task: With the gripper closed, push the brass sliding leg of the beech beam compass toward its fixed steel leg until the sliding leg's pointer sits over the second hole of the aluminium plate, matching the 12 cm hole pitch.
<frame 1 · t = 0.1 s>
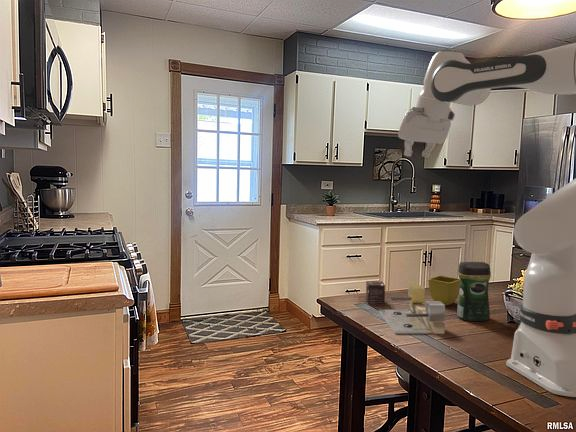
hand: (416, 156, 128), 52 cm above the table, tool tilted 20°, fingers open, 8 cm apart
beam: (425, 320, 138), on the table
hole plate: (402, 322, 136), on the table
coffee jar: (472, 318, 141), on the table
box: (375, 303, 158), on the table
flower pot: (443, 303, 158), on the table
sliding leg: (407, 294, 148), point 6 cm above the table, slide at 0.0 cm
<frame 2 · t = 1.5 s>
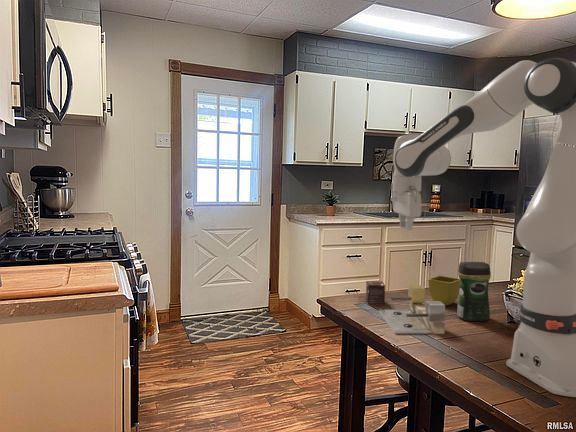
hand: (405, 228, 140), 29 cm above the table, tool pointing down, fingers open, 5 cm apart
nothing on the table moved.
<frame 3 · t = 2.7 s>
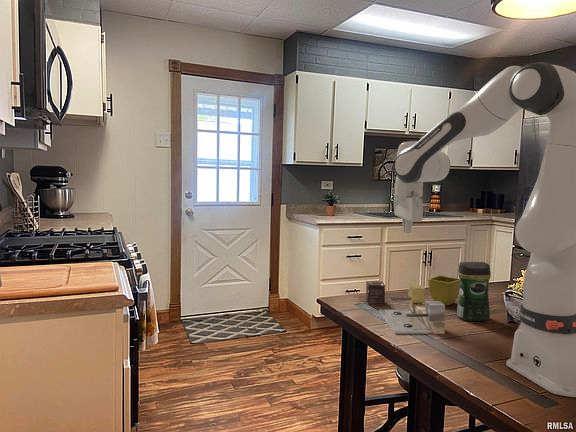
hand: (406, 232, 144), 27 cm above the table, tool pointing down, fingers closed
nothing on the table moved.
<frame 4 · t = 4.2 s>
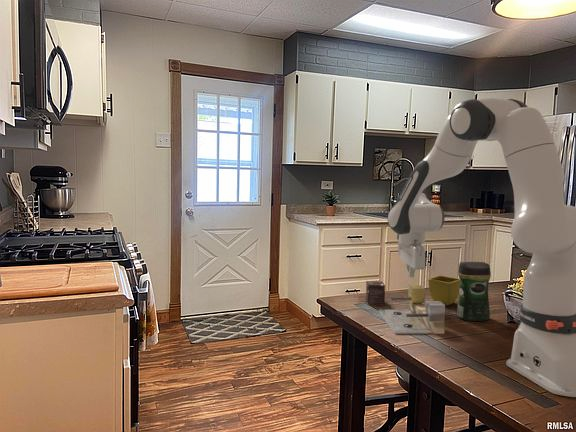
hand: (410, 276, 154), 11 cm above the table, tool pointing down, fingers closed
nothing on the table moved.
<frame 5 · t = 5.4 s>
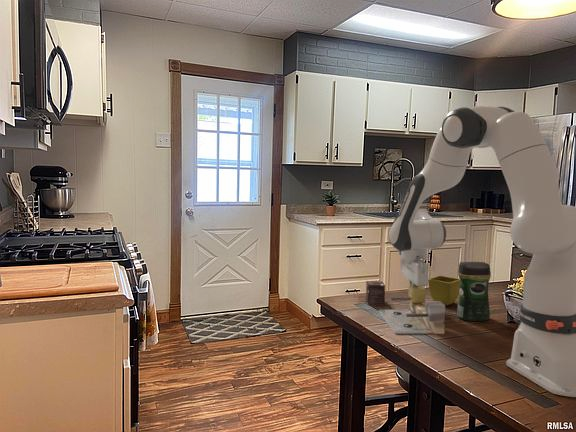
hand: (413, 292, 152), 5 cm above the table, tool pointing down, fingers closed
sliding leg: (407, 294, 148), point 6 cm above the table, slide at 0.2 cm, touching gripper
everything else where it was.
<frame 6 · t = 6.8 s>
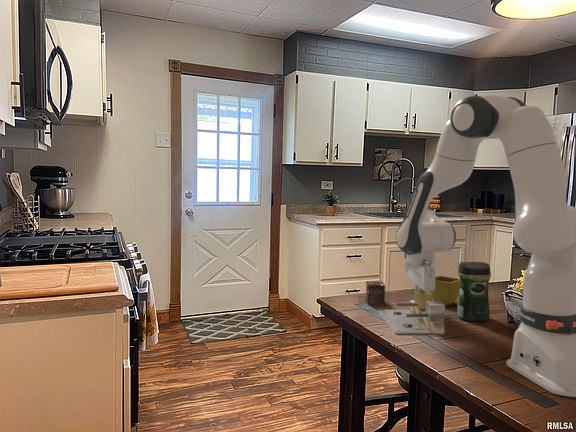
hand: (419, 297, 145), 5 cm above the table, tool pointing down, fingers closed
sliding leg: (413, 299, 141), point 6 cm above the table, slide at 7.0 cm, touching gripper
everything else where it was.
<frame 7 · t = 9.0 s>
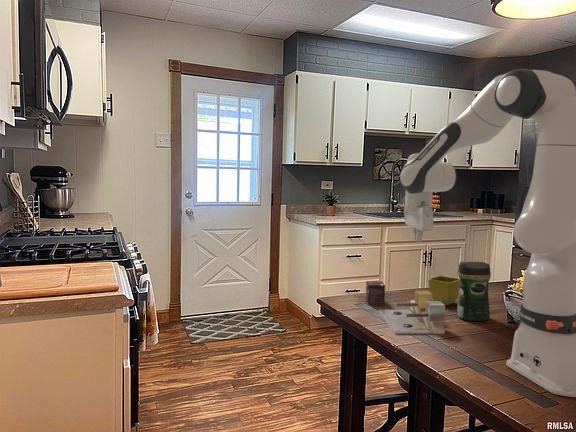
hand: (417, 241, 148), 24 cm above the table, tool pointing down, fingers closed
sliding leg: (413, 300, 141), point 6 cm above the table, slide at 7.1 cm
everything else where it was.
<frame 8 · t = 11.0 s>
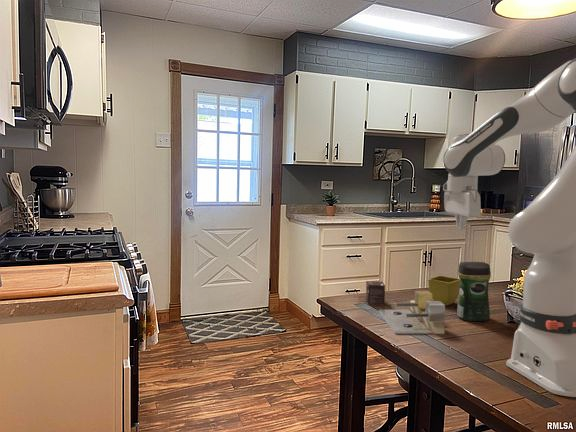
hand: (460, 228, 140), 29 cm above the table, tool pointing down, fingers closed
nothing on the table moved.
at the end: sliding leg slide at 7.1 cm; the gripper is holding nothing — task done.
